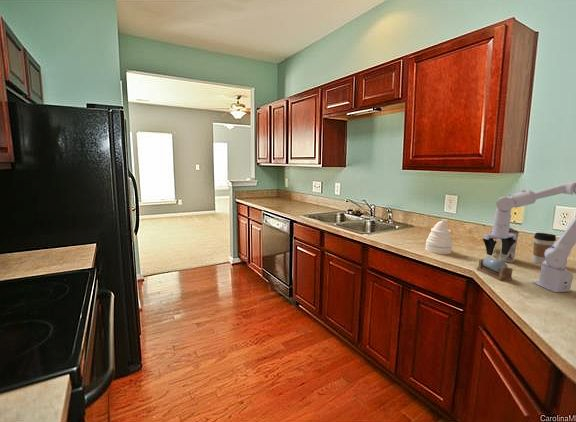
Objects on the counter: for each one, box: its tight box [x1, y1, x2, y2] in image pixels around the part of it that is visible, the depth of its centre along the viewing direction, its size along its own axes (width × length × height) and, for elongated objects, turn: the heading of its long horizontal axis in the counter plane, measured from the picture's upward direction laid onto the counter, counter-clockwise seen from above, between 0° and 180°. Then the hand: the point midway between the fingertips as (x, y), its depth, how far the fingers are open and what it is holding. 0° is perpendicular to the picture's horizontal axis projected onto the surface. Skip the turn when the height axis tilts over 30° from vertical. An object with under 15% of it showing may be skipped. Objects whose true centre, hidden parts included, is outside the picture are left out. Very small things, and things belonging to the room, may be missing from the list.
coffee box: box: [492, 227, 520, 263], centre depth 155 cm, size 9×6×16 cm
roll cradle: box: [476, 258, 513, 282], centre depth 134 cm, size 6×13×5 cm, turn 10°
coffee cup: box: [532, 232, 557, 265], centre depth 151 cm, size 8×8×15 cm
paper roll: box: [483, 256, 509, 273], centre depth 134 cm, size 8×5×5 cm, turn 10°
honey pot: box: [425, 218, 453, 255], centre depth 167 cm, size 13×13×18 cm
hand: (496, 254), depth 133 cm, fingers open, 7 cm apart
